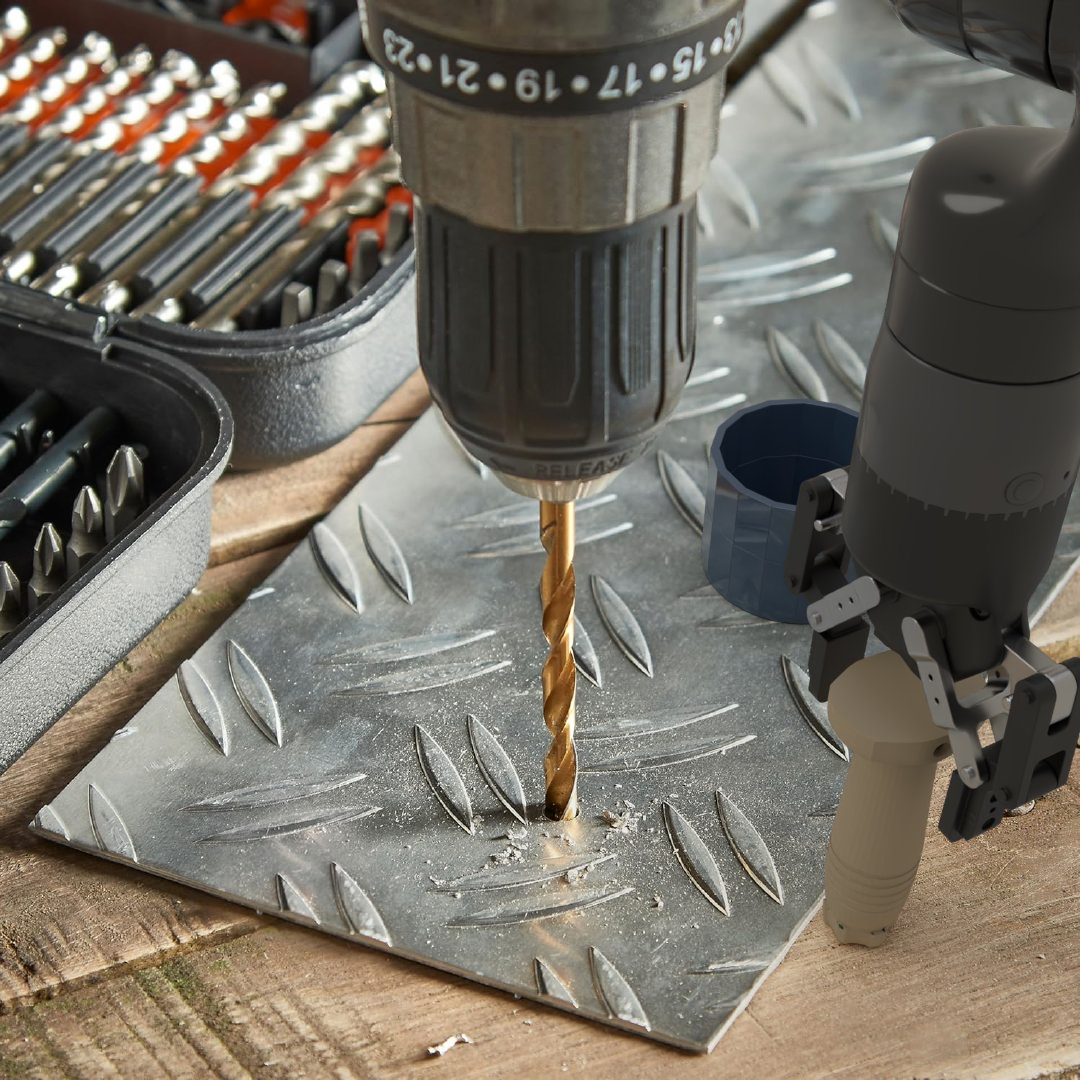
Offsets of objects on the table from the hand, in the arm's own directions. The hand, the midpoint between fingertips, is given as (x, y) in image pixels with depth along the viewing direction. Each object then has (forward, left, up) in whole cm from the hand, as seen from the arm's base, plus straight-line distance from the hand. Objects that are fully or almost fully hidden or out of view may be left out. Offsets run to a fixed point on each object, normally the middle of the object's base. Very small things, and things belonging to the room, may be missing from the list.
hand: (894, 757), depth 63 cm
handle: (0, 0, -11) cm, 11 cm away
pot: (-12, -22, -11) cm, 27 cm away
